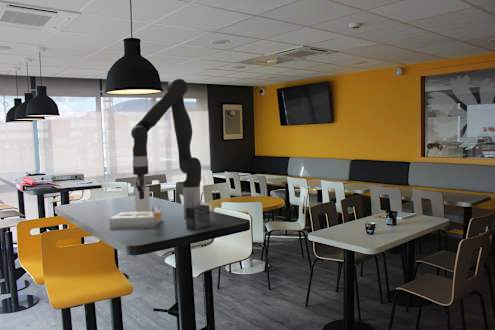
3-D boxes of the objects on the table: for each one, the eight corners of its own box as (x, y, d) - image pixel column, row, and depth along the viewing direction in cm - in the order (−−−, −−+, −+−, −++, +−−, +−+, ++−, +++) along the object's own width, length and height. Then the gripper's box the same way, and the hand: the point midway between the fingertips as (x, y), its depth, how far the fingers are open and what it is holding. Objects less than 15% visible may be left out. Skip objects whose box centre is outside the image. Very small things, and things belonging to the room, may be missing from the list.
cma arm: (152, 211, 206) (152, 205, 206) (159, 211, 207) (159, 205, 206) (153, 219, 184) (153, 212, 184) (161, 219, 185) (161, 212, 185)
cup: (146, 216, 225) (145, 188, 224) (133, 216, 226) (131, 188, 225) (152, 214, 233) (151, 187, 232) (139, 214, 234) (138, 187, 233)
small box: (201, 225, 198) (201, 204, 198) (211, 226, 194) (210, 205, 194) (185, 229, 190) (185, 207, 190) (195, 230, 186) (194, 208, 186)
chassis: (162, 220, 214) (161, 209, 214) (155, 227, 196) (154, 216, 196) (120, 221, 213) (120, 211, 213) (110, 228, 195) (109, 217, 195)
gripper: (136, 164, 209) (137, 197, 210) (129, 166, 196) (131, 201, 197) (150, 164, 209) (151, 196, 210) (145, 165, 196) (146, 200, 197)
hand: (141, 198), depth 204 cm, fingers closed
